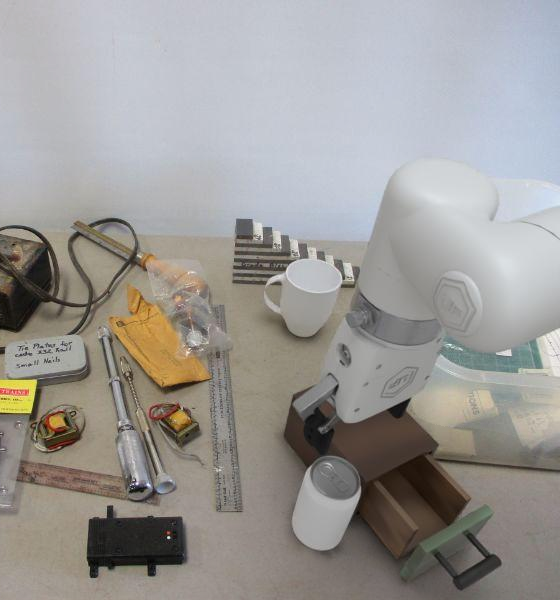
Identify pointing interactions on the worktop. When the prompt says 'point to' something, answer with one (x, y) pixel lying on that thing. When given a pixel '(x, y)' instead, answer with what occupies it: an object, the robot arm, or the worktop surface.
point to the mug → (306, 295)
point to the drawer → (426, 520)
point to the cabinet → (364, 443)
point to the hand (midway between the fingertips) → (352, 425)
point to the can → (326, 502)
